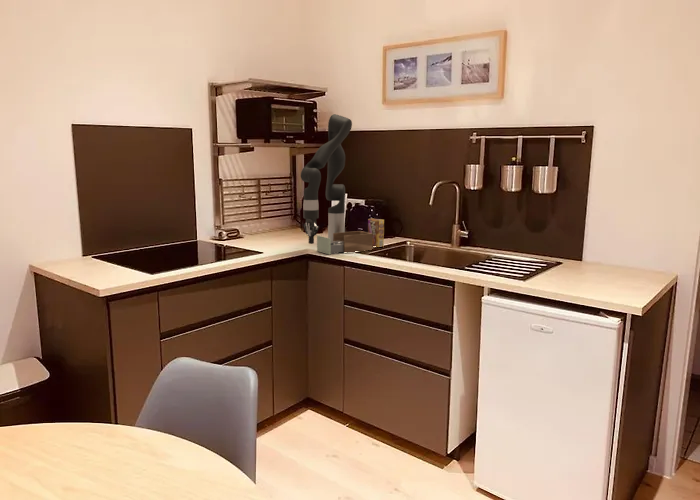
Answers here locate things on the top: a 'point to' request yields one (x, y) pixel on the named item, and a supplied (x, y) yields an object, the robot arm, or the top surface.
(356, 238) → the sleeve
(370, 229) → the candy box
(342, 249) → the grey boxy piece
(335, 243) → the steel tin
